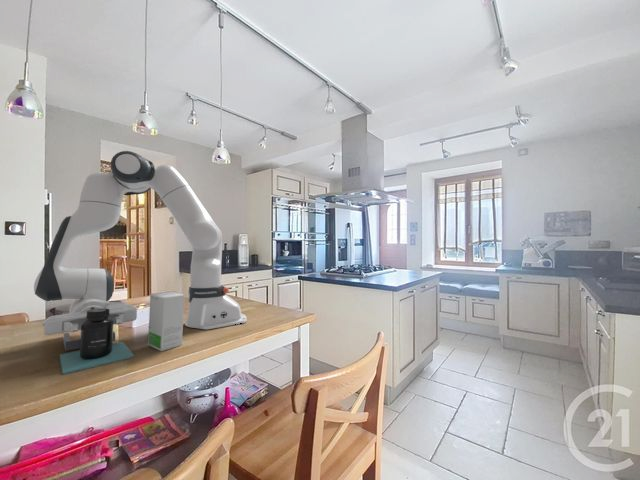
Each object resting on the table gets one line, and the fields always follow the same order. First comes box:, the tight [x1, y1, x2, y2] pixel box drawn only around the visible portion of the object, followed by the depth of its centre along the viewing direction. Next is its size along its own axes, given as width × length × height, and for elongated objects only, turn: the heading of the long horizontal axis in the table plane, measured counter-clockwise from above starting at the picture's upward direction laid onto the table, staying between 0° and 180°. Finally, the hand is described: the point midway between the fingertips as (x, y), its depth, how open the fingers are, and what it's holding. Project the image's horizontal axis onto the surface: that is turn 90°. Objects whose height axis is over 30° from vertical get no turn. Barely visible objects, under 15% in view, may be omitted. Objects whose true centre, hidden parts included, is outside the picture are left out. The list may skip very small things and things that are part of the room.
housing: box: [62, 330, 116, 352], centre depth 85 cm, size 10×11×2 cm
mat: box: [59, 341, 135, 375], centre depth 74 cm, size 14×14×1 cm
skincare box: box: [147, 290, 185, 352], centre depth 83 cm, size 8×7×16 cm
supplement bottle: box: [79, 308, 114, 359], centre depth 74 cm, size 7×7×12 cm
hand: (97, 324), depth 73 cm, fingers open, 8 cm apart
